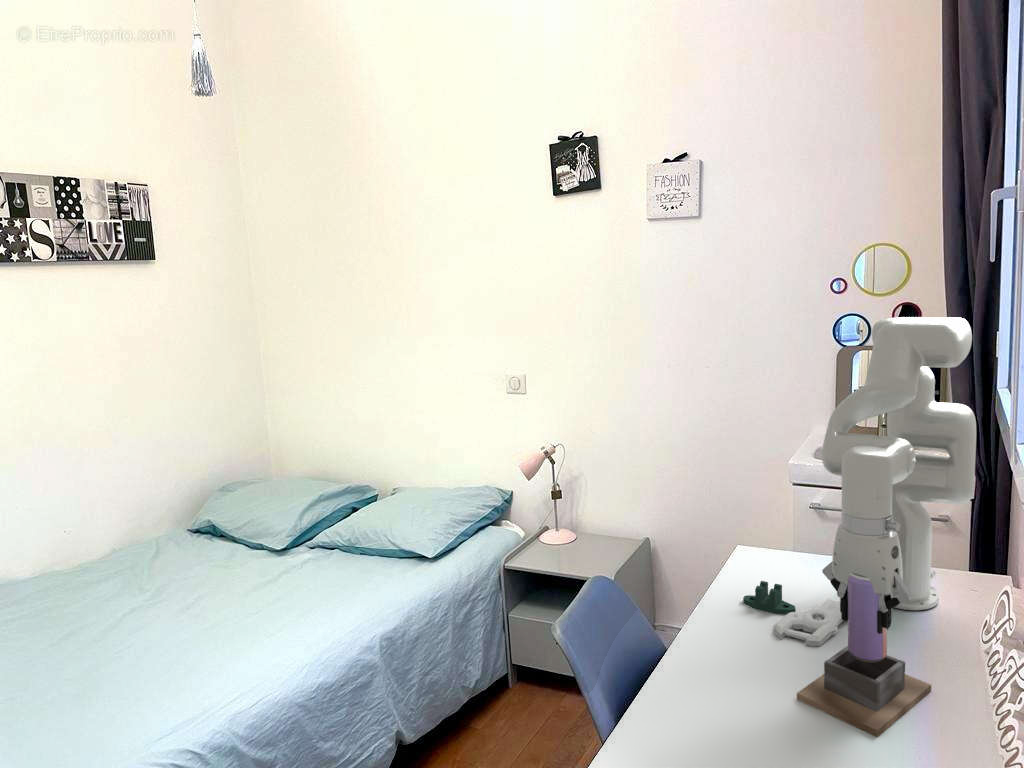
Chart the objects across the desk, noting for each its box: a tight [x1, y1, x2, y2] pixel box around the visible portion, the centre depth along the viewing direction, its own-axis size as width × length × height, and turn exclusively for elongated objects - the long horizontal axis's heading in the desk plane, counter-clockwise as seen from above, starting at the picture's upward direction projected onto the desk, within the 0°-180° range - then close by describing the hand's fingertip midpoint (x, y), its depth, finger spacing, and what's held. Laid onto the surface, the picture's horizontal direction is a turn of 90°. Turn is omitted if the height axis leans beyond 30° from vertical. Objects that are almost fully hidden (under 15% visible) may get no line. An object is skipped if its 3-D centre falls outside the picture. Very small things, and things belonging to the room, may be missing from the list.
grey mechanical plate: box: [772, 597, 844, 647], centre depth 155 cm, size 18×4×10 cm
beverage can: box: [847, 573, 888, 662], centre depth 128 cm, size 6×6×15 cm
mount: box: [742, 580, 796, 616], centre depth 163 cm, size 11×4×5 cm, turn 53°
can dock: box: [796, 645, 932, 738], centre depth 131 cm, size 18×14×6 cm
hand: (865, 623), depth 129 cm, fingers closed on beverage can, 5 cm apart
